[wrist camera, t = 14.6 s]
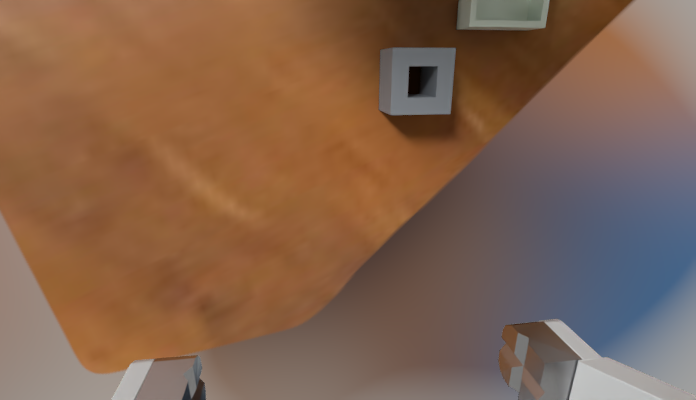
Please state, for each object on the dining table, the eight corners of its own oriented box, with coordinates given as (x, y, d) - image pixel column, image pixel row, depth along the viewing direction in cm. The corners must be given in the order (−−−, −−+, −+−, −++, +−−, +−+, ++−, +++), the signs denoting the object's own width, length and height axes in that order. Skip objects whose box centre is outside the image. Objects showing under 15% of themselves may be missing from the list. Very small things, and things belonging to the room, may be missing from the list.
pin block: (380, 49, 39) (392, 47, 35) (436, 50, 40) (456, 48, 36) (378, 109, 41) (390, 115, 37) (432, 108, 42) (450, 113, 37)
